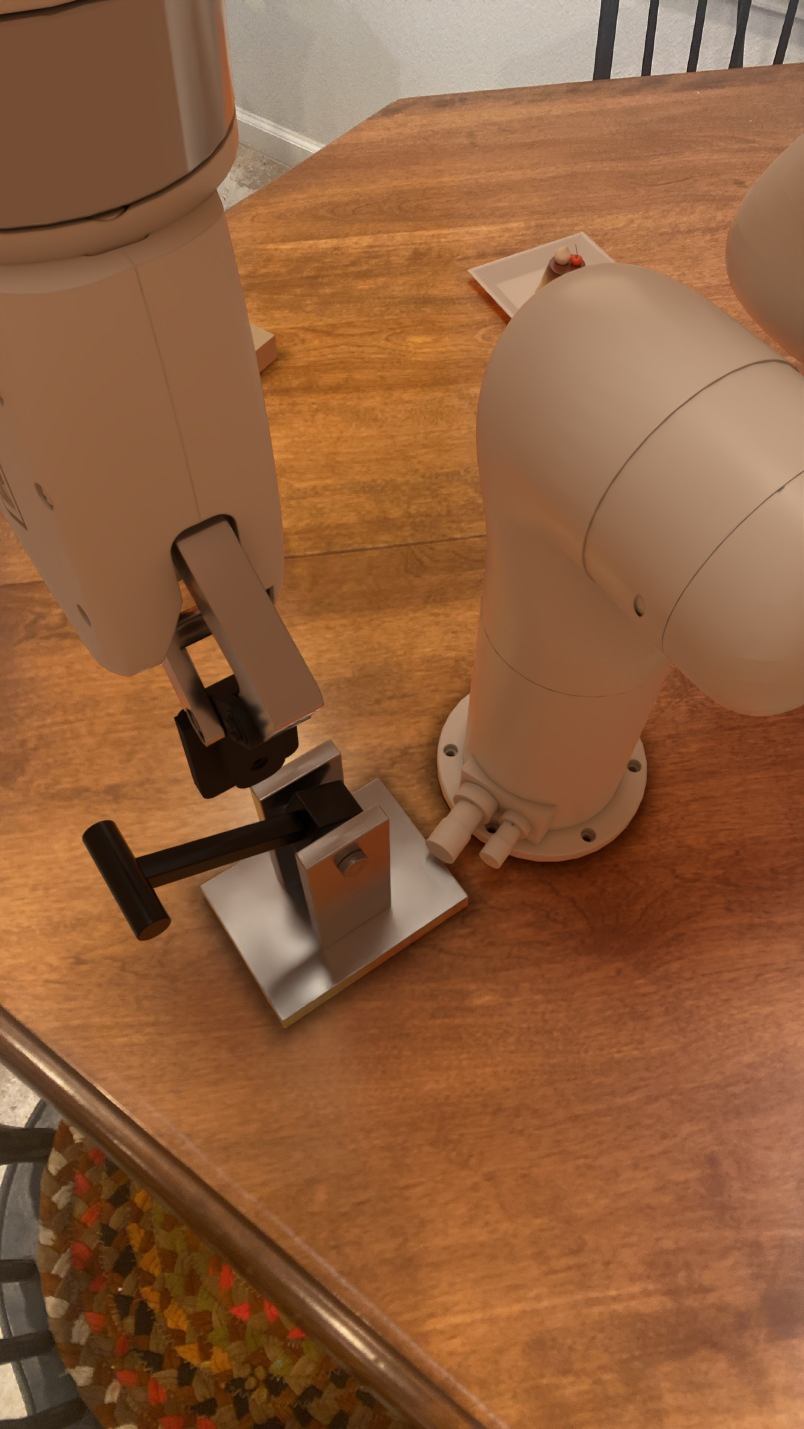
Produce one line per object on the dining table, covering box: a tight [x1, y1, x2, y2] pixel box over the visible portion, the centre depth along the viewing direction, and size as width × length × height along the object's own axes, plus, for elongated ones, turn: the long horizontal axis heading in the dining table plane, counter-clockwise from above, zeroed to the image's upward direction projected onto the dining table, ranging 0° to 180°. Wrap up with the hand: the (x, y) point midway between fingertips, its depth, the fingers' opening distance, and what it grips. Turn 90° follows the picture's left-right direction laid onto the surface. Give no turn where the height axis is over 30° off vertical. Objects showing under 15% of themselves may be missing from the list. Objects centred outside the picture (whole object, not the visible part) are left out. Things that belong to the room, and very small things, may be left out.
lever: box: [81, 780, 364, 942], centre depth 41 cm, size 12×5×2 cm, turn 125°
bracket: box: [198, 738, 470, 1029], centre depth 48 cm, size 12×9×13 cm
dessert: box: [467, 230, 617, 319], centre depth 79 cm, size 12×12×5 cm
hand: (172, 656), depth 30 cm, fingers open, 9 cm apart
